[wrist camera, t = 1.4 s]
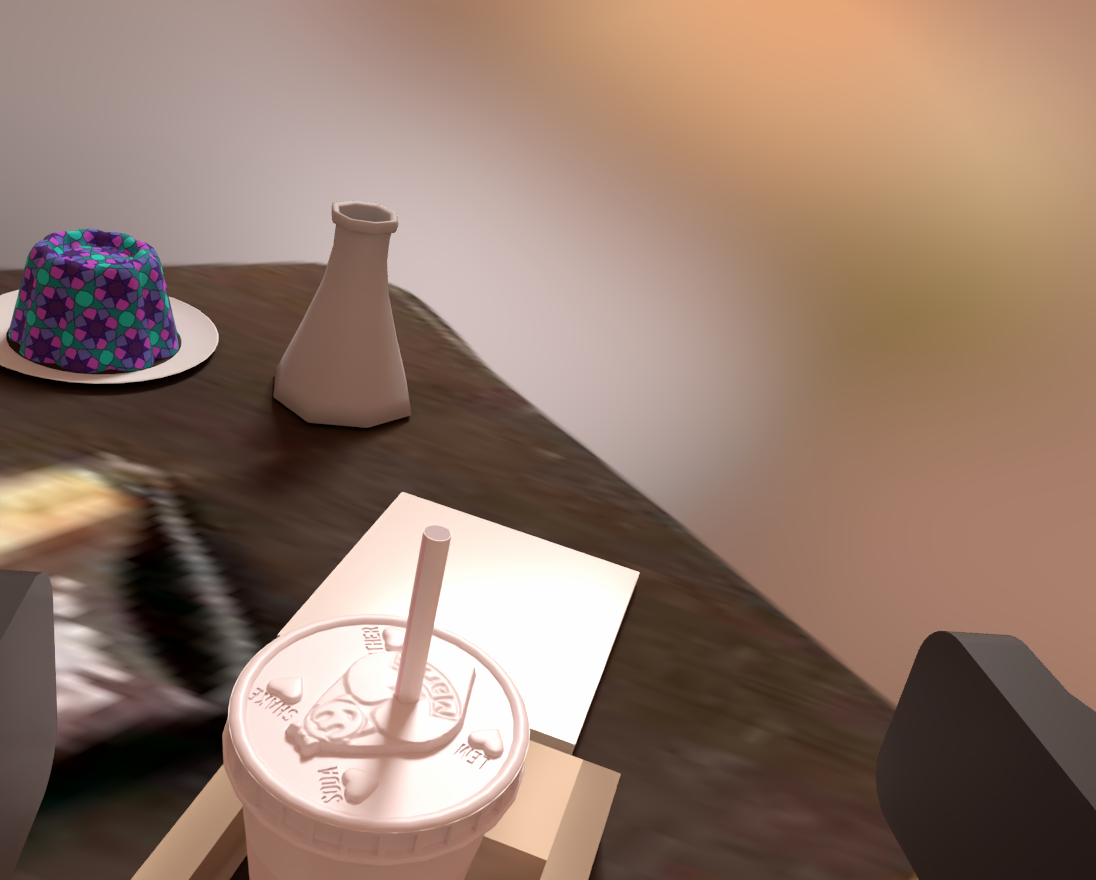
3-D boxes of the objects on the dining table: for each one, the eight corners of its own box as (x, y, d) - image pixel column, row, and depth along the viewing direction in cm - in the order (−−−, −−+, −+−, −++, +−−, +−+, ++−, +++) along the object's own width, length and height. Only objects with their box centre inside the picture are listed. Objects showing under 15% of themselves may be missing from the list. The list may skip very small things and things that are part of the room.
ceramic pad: (276, 647, 37) (277, 634, 36) (400, 503, 46) (402, 491, 46) (571, 757, 35) (574, 744, 35) (636, 583, 44) (639, 572, 44)
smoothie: (509, 1027, 26) (644, 591, 20) (277, 1185, 22) (351, 701, 16) (377, 845, 30) (453, 431, 24) (159, 951, 26) (179, 486, 20)
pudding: (256, 378, 54) (264, 285, 52) (7, 414, 47) (1, 306, 44) (165, 288, 62) (167, 202, 59) (-64, 306, 54) (-72, 208, 51)
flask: (294, 438, 49) (315, 237, 45) (253, 369, 54) (267, 182, 50) (433, 427, 53) (466, 240, 48) (382, 363, 58) (407, 189, 53)
